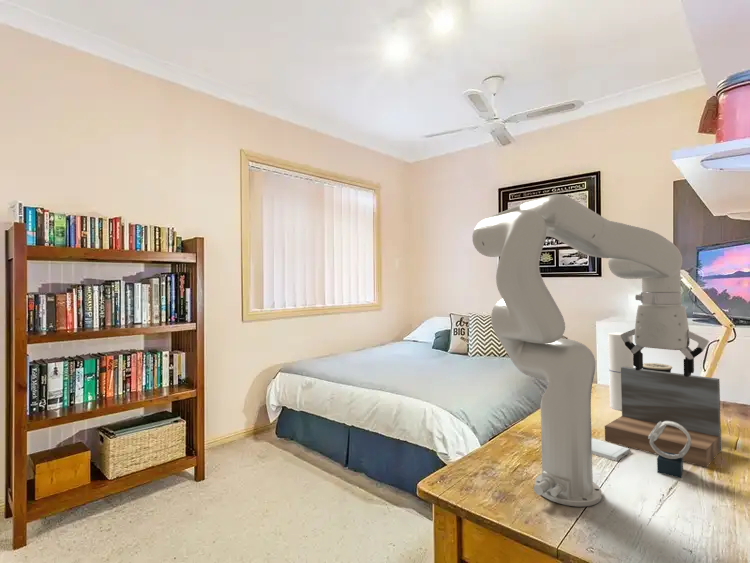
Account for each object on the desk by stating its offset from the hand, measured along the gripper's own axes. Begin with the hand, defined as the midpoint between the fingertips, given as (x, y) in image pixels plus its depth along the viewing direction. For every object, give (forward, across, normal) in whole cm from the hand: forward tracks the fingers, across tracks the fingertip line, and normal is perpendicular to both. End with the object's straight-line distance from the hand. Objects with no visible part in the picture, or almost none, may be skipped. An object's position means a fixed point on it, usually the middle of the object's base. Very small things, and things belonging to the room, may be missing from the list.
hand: (662, 372), depth 98 cm
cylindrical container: (+21, -22, +40) cm, 50 cm away
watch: (+22, +2, -3) cm, 22 cm away
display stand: (+21, -4, +12) cm, 25 cm away
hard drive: (+22, -14, -1) cm, 27 cm away
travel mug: (+22, -8, +28) cm, 36 cm away
